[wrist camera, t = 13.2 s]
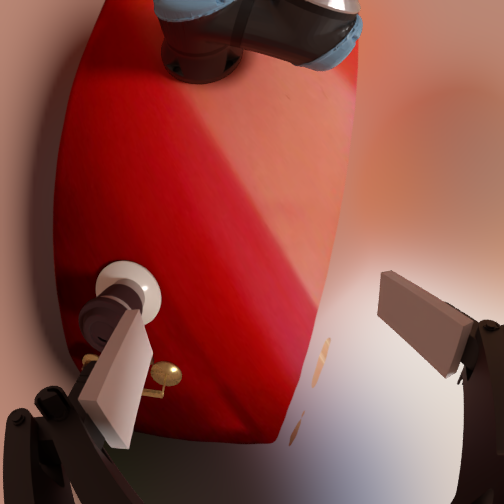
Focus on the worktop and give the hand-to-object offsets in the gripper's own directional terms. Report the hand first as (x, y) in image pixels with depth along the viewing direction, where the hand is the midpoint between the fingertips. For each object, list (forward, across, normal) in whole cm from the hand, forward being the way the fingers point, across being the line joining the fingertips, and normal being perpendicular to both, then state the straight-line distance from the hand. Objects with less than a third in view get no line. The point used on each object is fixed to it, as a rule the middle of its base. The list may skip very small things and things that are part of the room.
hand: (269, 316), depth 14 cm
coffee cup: (+36, -22, -12) cm, 43 cm away
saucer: (+37, -22, -12) cm, 44 cm away
